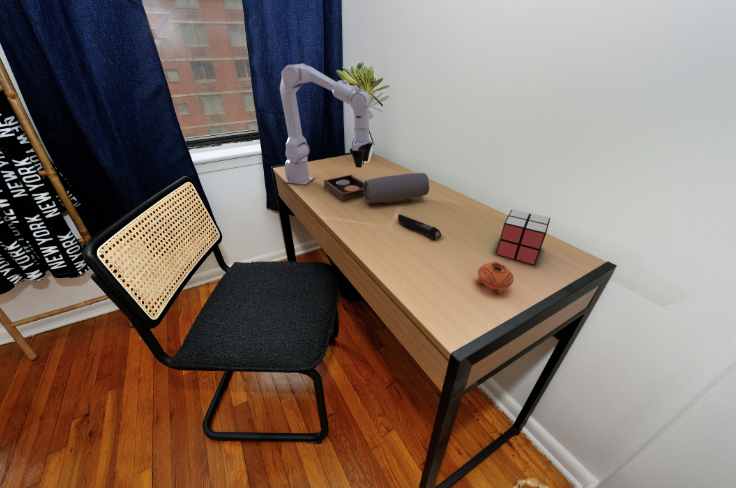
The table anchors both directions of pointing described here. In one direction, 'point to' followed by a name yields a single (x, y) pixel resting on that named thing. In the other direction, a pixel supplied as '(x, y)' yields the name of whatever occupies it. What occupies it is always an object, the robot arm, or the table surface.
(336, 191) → the dark brown tray
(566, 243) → the table surface
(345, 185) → the gray and black puck
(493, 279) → the pot
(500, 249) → the puzzle cube
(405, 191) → the bluetooth speaker
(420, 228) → the electric trimmer
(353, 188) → the terracotta coaster
